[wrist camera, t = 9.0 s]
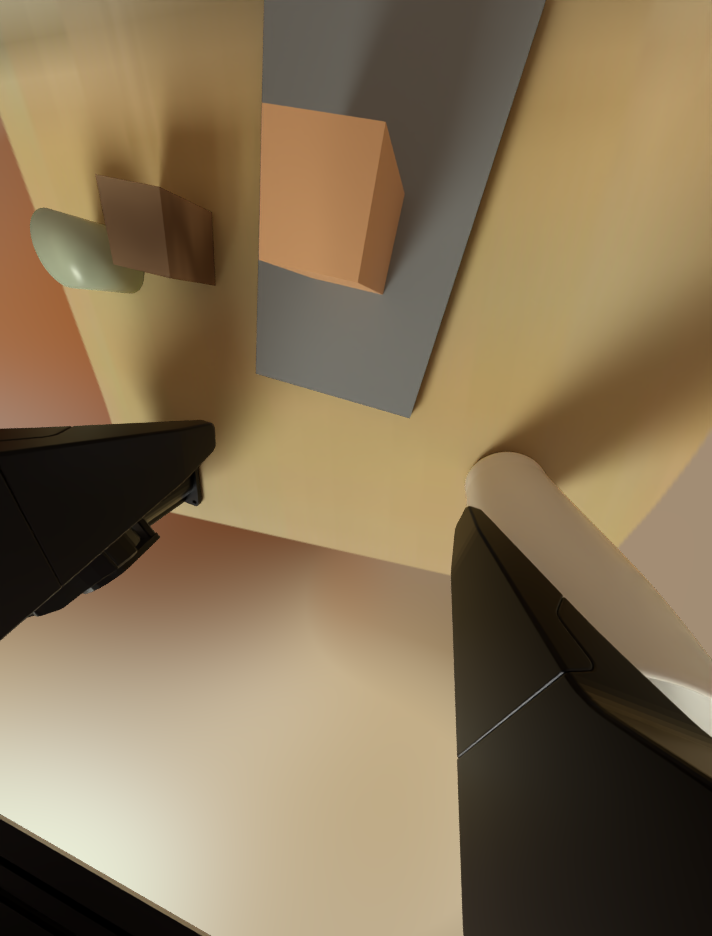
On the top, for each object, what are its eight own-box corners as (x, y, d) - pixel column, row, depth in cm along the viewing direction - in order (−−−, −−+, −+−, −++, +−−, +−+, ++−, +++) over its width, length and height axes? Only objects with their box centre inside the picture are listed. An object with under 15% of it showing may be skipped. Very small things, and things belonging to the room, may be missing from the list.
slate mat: (411, 414, 20) (409, 418, 19) (263, 371, 22) (255, 373, 21) (545, -1, 11) (554, -28, 10) (276, -27, 13) (265, -52, 12)
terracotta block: (382, 294, 17) (357, 282, 11) (312, 278, 17) (258, 259, 12) (404, 193, 14) (385, 121, 9) (323, 178, 15) (262, 102, 10)
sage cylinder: (148, 298, 22) (93, 294, 18) (105, 287, 22) (44, 280, 19) (138, 233, 20) (74, 214, 16) (91, 222, 20) (19, 201, 17)
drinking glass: (551, 516, 21) (725, 817, 8) (456, 518, 23) (479, 759, 10) (558, 433, 18) (835, 690, 6) (451, 444, 21) (471, 647, 8)
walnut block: (216, 285, 20) (170, 278, 16) (168, 274, 20) (113, 264, 17) (212, 212, 18) (159, 187, 14) (159, 201, 18) (95, 174, 15)
